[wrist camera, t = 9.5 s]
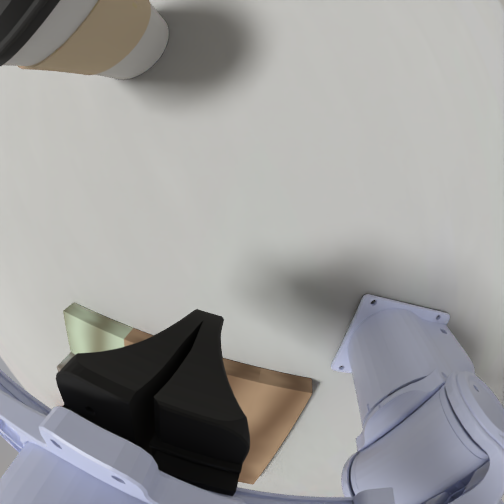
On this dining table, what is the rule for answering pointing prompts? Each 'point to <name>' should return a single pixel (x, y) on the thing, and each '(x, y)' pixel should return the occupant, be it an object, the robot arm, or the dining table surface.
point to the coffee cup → (82, 36)
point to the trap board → (239, 376)
